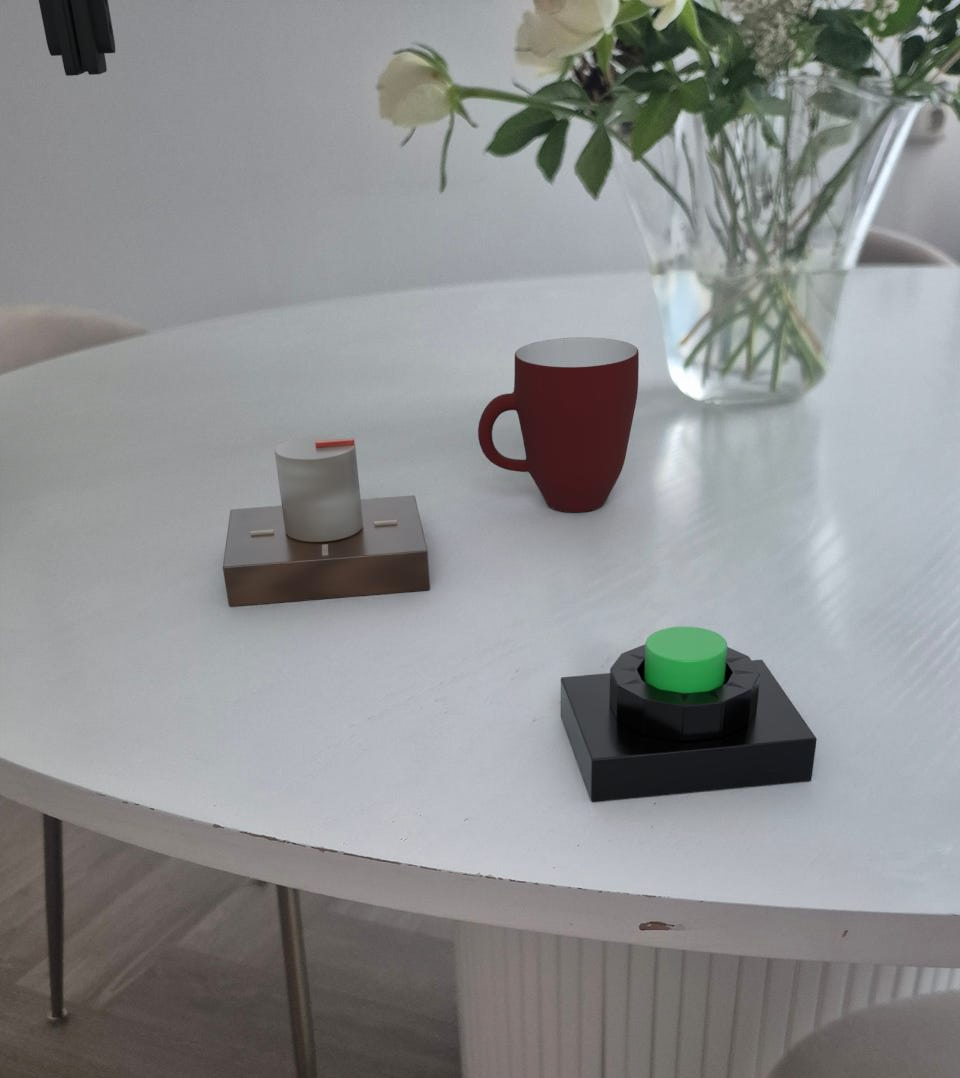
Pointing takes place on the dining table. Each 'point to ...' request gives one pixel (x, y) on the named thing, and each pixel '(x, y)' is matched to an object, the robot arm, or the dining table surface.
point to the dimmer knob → (319, 487)
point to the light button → (685, 659)
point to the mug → (569, 417)
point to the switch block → (683, 732)
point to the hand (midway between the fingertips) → (86, 72)
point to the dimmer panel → (325, 556)
